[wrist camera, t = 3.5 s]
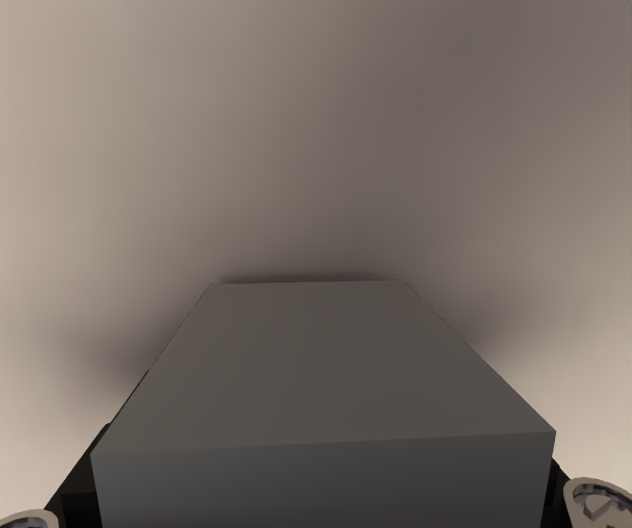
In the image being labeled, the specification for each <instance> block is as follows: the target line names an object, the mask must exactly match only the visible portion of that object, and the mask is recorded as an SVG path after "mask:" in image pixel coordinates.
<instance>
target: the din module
mask: <svg viewBox="0 0 632 528" xmlns="http://www.w3.org/2000/svg"><path fill="white" fill-rule="evenodd" d="M555 436H556V430H555V429H554V428H553V427H552V426H551V425H550V424H548V423H547V422H546V421H545V420H544V419H543V418H542V417H541V416H540V415H539V414H538V413H537V412H536V411H535V410H534V409H533V408H532V407H531V406H530V405H529V404H528V403H527V402H526V401H525V400H524V399H523V398H522V397H521V396H520V395H519V394H518V393H517V392H516V391H515V390H514V389H513V388H512V387H511V386H510V385H509V384H508V383H507V382H506V381H505V380H504V379H503V378H502V377H501V376H500V375H499V374H497V373H496V372H495V371H494V370H493V369H492V368H491V367H490V366H489V365H488V364H487V363H486V362H485V361H484V360H483V359H482V358H481V357H480V356H479V355H478V354H477V353H476V352H475V351H474V350H473V349H472V348H471V347H470V346H469V345H468V344H467V343H466V342H465V341H464V340H463V339H462V338H461V337H460V336H459V335H458V334H457V333H456V332H455V331H454V330H453V329H452V328H451V327H450V326H449V325H448V324H446V323H445V322H444V321H443V320H442V319H441V318H440V317H439V316H438V315H437V314H436V313H435V312H434V311H433V310H432V309H431V308H430V307H429V306H428V305H427V304H426V303H425V302H424V301H423V300H422V299H421V298H420V297H419V296H418V295H417V294H416V293H415V292H414V291H413V290H412V289H411V288H410V287H409V286H408V285H407V284H406V283H405V282H404V281H403V280H371V281H327V282H283V283H239V284H210V285H209V287H208V288H207V289H206V291H205V292H204V294H203V295H202V296H201V298H200V299H199V301H198V302H197V304H196V305H195V306H194V308H193V309H192V311H191V312H190V313H189V315H188V316H187V318H186V319H185V321H184V322H183V323H182V325H181V326H180V328H179V329H178V330H177V332H176V333H175V335H174V336H173V338H172V339H171V340H170V342H169V343H168V345H167V346H166V347H165V349H164V350H163V352H162V353H161V355H160V356H159V357H158V359H157V360H156V362H155V363H154V364H153V366H152V367H151V369H150V370H149V372H148V373H147V374H146V376H145V377H144V379H143V380H142V381H141V383H140V384H139V386H138V387H137V389H136V390H135V391H134V393H133V394H132V396H131V397H130V398H129V400H128V401H127V403H126V404H125V406H124V407H123V408H122V410H121V411H120V413H119V414H118V415H117V417H116V418H115V420H114V421H113V423H112V424H111V425H110V427H109V428H108V430H107V431H106V432H105V434H104V435H103V437H102V438H101V440H100V441H99V442H98V444H97V445H96V447H95V448H94V449H93V451H92V452H91V454H90V457H91V463H92V468H93V474H94V480H95V486H96V491H97V497H98V503H99V509H100V514H101V520H102V526H103V528H540V523H541V518H542V512H543V506H544V500H545V494H546V489H547V483H548V477H549V471H550V465H551V460H552V454H553V448H554V442H555Z"/></svg>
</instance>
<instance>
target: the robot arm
mask: <svg viewBox="0 0 632 528" xmlns="http://www.w3.org/2000/svg"><path fill="white" fill-rule="evenodd" d="M148 372H149V370H148V371H147V372H146V374H147V373H148ZM146 374H145V375H144V377H145V376H146ZM144 377H143V378H142V379H141V381H142V380H143V379H144ZM141 381H140V382H139V384H140V383H141ZM139 384H138V385H137V386H136V388H135V389H134V391H135V390H136V389H137V387H138V386H139ZM134 391H133V392H132V393H131V395H130V396H129V398H130V397H131V396H132V394H133V393H134ZM129 398H128V399H127V400H126V402H125V403H124V405H123V406H122V407H121V409H120V410H119V412H118V413H117V414H116V416H115V417H114V419H113V420H112V421H111V423H108V424H106V425H105V426H104V427H103V428H102V429H101V431H100V432H99V434H98V435H97V436H96V438H95V439H94V440H93V442H92V443H91V444H90V446H89V447H88V449H87V450H86V451H85V453H84V454H83V455H82V457H81V458H80V460H79V461H78V462H77V464H76V465H75V466H74V468H73V469H72V471H71V472H70V473H69V475H68V476H67V477H66V479H65V480H64V482H63V483H62V484H61V486H60V487H59V488H58V490H57V491H56V492H55V494H54V495H53V497H52V498H51V499H50V501H49V502H48V503H47V505H46V506H45V508H44V509H35V510H27V511H23V512H19V513H15V514H12V515H10V516H8V517H5V518H3V519H1V520H0V528H103V526H102V520H101V514H100V509H99V503H98V497H97V491H96V486H95V480H94V474H93V468H92V463H91V457H90V454H91V452H92V451H93V449H94V448H95V447H96V445H97V444H98V442H99V441H100V440H101V438H102V437H103V435H104V434H105V432H106V431H107V430H108V428H109V427H110V425H111V424H112V423H113V421H114V420H115V418H116V417H117V415H118V414H119V413H120V411H121V410H122V408H123V407H124V406H125V404H126V403H127V401H128V400H129ZM540 528H632V494H631V493H629V492H628V491H626V490H624V489H622V488H620V487H618V486H616V485H614V484H611V483H608V482H605V481H602V480H599V479H594V478H587V477H581V478H574V479H572V480H570V478H569V477H568V476H567V475H566V474H565V473H564V472H563V471H562V470H561V469H560V466H559V464H558V463H557V462H556V461H555V460H554V459H553V458H552V460H551V465H550V471H549V477H548V483H547V489H546V494H545V500H544V506H543V512H542V518H541V523H540Z"/></svg>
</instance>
